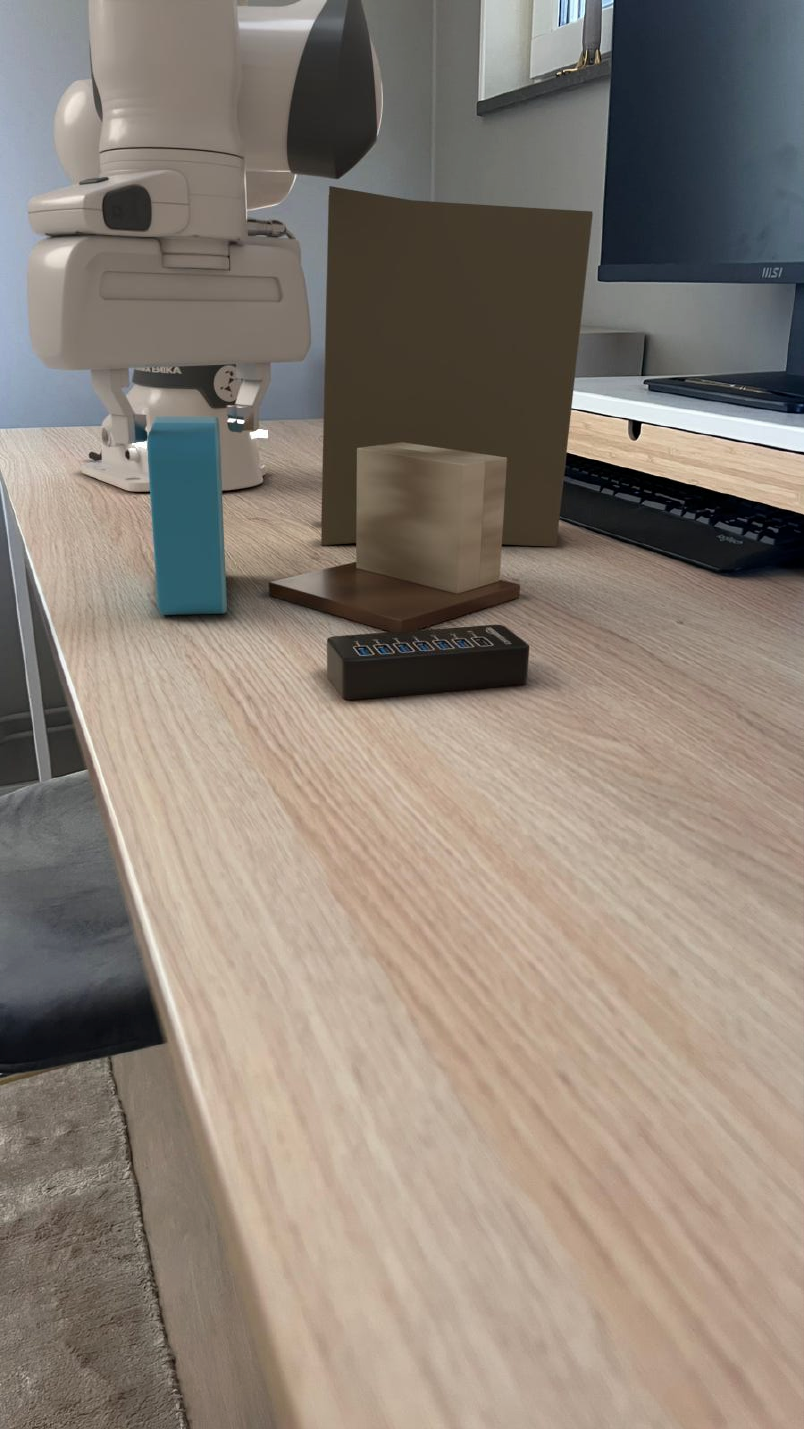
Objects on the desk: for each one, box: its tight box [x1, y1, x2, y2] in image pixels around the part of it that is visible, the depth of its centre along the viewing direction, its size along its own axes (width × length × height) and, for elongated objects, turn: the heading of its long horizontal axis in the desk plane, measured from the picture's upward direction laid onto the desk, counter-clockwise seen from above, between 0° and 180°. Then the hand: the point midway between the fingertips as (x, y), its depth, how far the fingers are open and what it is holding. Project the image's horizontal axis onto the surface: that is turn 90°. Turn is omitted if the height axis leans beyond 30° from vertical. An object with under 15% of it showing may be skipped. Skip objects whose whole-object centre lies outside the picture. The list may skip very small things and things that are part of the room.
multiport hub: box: [326, 624, 531, 701], centre depth 59 cm, size 4×11×2 cm, turn 107°
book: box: [320, 185, 594, 548], centre depth 90 cm, size 22×9×28 cm, turn 94°
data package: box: [147, 417, 228, 616], centre depth 72 cm, size 12×4×12 cm, turn 10°
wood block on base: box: [268, 442, 521, 632], centre depth 74 cm, size 13×13×10 cm
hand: (189, 437), depth 70 cm, fingers open, 8 cm apart
